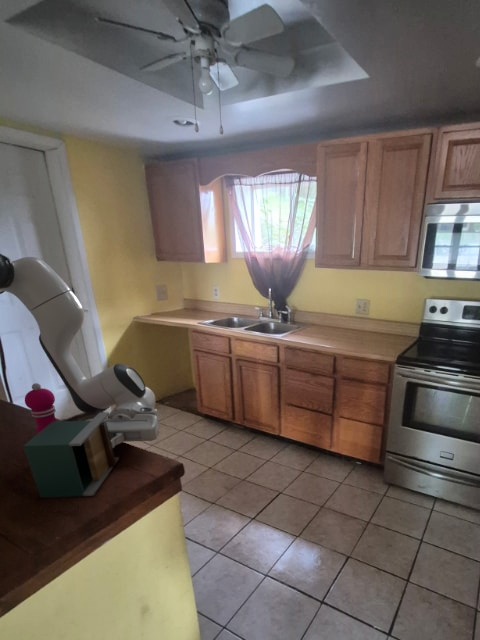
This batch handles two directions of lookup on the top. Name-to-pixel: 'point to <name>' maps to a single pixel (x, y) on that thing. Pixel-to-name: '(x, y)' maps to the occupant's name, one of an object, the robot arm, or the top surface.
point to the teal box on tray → (64, 459)
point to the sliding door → (99, 451)
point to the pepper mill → (41, 406)
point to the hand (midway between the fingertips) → (106, 445)
